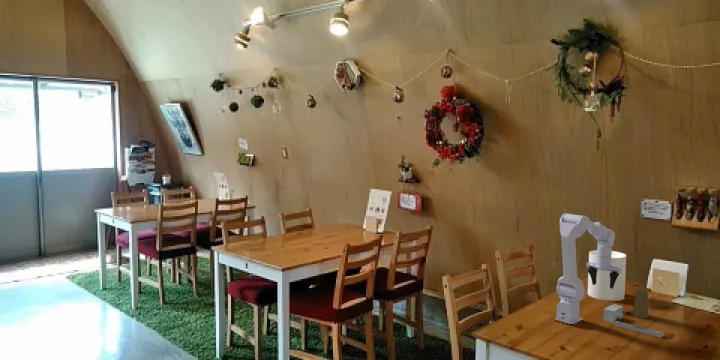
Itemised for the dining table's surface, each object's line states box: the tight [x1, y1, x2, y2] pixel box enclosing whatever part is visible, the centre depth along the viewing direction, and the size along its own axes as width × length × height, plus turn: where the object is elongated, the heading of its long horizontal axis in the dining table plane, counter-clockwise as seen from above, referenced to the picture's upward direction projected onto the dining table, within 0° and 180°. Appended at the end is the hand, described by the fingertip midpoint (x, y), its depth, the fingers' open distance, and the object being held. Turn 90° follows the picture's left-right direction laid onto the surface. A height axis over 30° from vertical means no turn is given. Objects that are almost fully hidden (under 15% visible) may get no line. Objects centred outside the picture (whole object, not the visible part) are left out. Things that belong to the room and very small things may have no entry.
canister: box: [587, 249, 627, 302], centre depth 262 cm, size 16×16×20 cm
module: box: [603, 303, 624, 324], centre depth 231 cm, size 9×4×5 cm, turn 133°
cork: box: [632, 288, 650, 319], centre depth 235 cm, size 6×6×11 cm
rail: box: [612, 320, 664, 338], centre depth 218 cm, size 2×18×2 cm, turn 43°
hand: (602, 286), depth 244 cm, fingers open, 7 cm apart
